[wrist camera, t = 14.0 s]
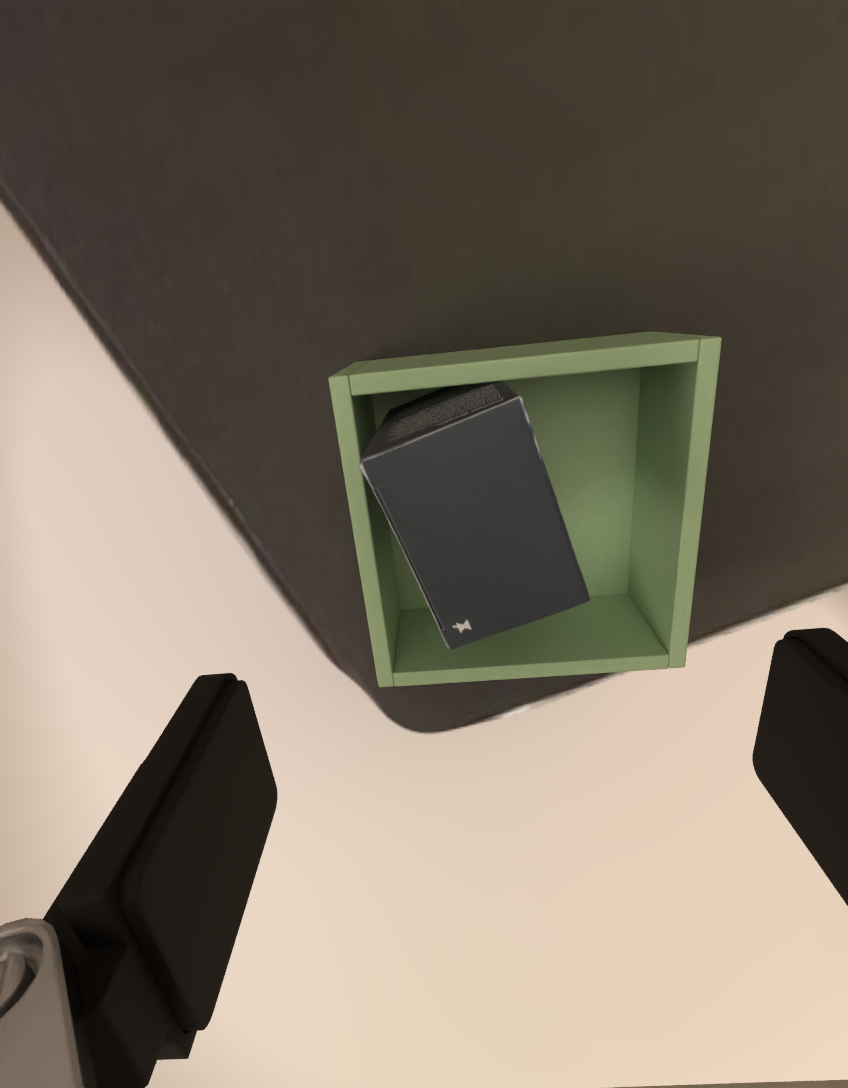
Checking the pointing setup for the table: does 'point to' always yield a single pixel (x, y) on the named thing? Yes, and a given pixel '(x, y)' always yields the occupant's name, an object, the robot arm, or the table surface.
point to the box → (474, 511)
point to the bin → (582, 494)
